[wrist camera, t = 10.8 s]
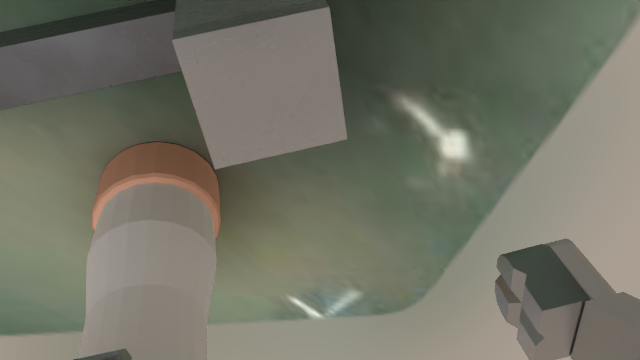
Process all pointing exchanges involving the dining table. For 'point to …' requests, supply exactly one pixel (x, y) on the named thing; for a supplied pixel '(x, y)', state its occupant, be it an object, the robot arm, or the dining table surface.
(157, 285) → the pepper shaker
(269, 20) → the light grey cube
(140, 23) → the ratchet
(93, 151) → the dining table surface
